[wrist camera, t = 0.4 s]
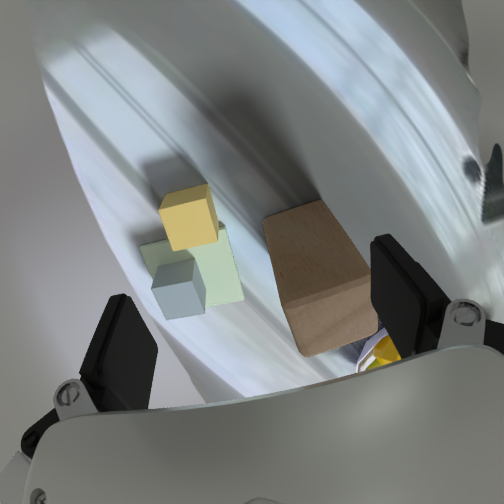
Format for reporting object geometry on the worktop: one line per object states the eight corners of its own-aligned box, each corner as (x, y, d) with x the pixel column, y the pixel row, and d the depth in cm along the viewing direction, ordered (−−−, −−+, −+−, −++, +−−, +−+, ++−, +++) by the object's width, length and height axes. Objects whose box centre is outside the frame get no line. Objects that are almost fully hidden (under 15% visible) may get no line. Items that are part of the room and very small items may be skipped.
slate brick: (157, 266, 49) (150, 289, 44) (195, 258, 49) (192, 280, 44) (170, 296, 52) (166, 320, 47) (206, 289, 52) (204, 313, 47)
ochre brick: (166, 193, 44) (158, 210, 39) (208, 183, 44) (205, 198, 39) (178, 231, 47) (173, 251, 42) (218, 222, 47) (218, 241, 42)
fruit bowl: (452, 283, 58) (479, 316, 49) (432, 357, 73) (448, 387, 63) (338, 317, 60) (355, 360, 50) (339, 388, 74) (350, 423, 64)
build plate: (140, 245, 48) (139, 248, 47) (225, 226, 47) (225, 229, 46) (169, 310, 55) (168, 313, 54) (244, 296, 55) (244, 299, 54)
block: (259, 216, 47) (280, 304, 30) (322, 195, 46) (376, 271, 29) (278, 268, 52) (302, 362, 35) (335, 249, 51) (381, 335, 34)
